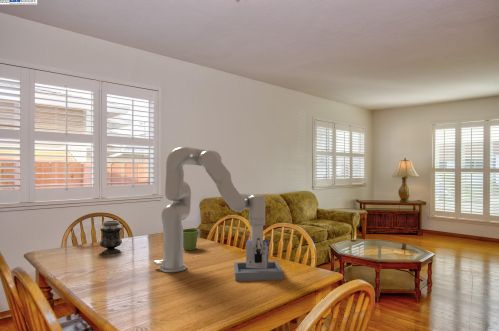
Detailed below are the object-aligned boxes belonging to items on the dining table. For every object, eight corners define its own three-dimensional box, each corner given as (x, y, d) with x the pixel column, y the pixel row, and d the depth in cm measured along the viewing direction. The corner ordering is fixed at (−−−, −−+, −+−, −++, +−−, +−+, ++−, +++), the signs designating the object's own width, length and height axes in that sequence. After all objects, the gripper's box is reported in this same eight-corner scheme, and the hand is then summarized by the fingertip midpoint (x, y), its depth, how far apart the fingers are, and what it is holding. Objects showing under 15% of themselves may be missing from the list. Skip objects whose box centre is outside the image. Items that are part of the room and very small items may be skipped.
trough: (235, 281, 145) (235, 273, 145) (234, 269, 161) (234, 262, 161) (283, 279, 147) (283, 271, 147) (277, 268, 163) (277, 261, 163)
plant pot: (189, 245, 209) (189, 227, 209) (203, 248, 202) (203, 229, 202) (175, 249, 200) (175, 230, 200) (189, 252, 193) (189, 233, 193)
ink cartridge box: (268, 265, 156) (268, 234, 156) (267, 269, 150) (267, 237, 150) (248, 264, 158) (248, 233, 158) (245, 268, 152) (245, 236, 152)
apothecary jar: (126, 251, 196) (126, 220, 196) (108, 256, 186) (108, 223, 186) (113, 248, 203) (113, 218, 203) (95, 253, 193) (95, 221, 193)
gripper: (247, 218, 162) (247, 255, 162) (250, 225, 145) (250, 266, 145) (263, 218, 163) (263, 255, 163) (267, 224, 146) (267, 265, 146)
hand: (257, 260), depth 154 cm, fingers closed on ink cartridge box, 6 cm apart
